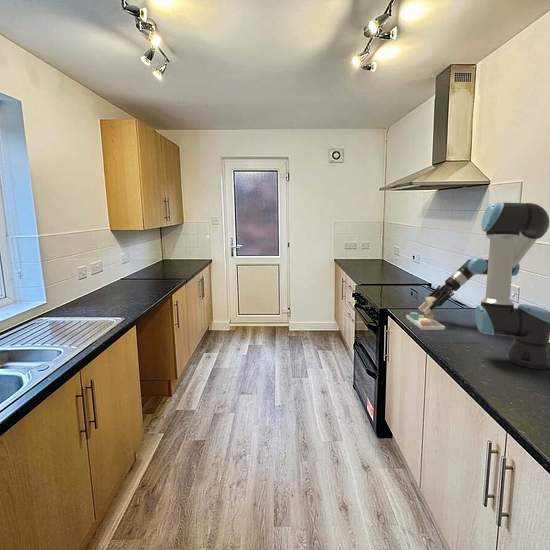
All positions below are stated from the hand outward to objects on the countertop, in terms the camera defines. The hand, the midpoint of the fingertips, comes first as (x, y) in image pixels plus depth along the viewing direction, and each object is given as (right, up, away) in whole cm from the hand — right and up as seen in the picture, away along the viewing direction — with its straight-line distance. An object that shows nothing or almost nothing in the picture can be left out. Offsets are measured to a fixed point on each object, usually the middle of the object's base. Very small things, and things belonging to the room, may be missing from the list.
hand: (422, 311), depth 196 cm
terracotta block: (-1, -8, -7) cm, 10 cm away
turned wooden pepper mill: (+4, -3, +1) cm, 5 cm away
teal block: (-1, -5, +8) cm, 10 cm away
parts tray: (+1, -8, +1) cm, 8 cm away
